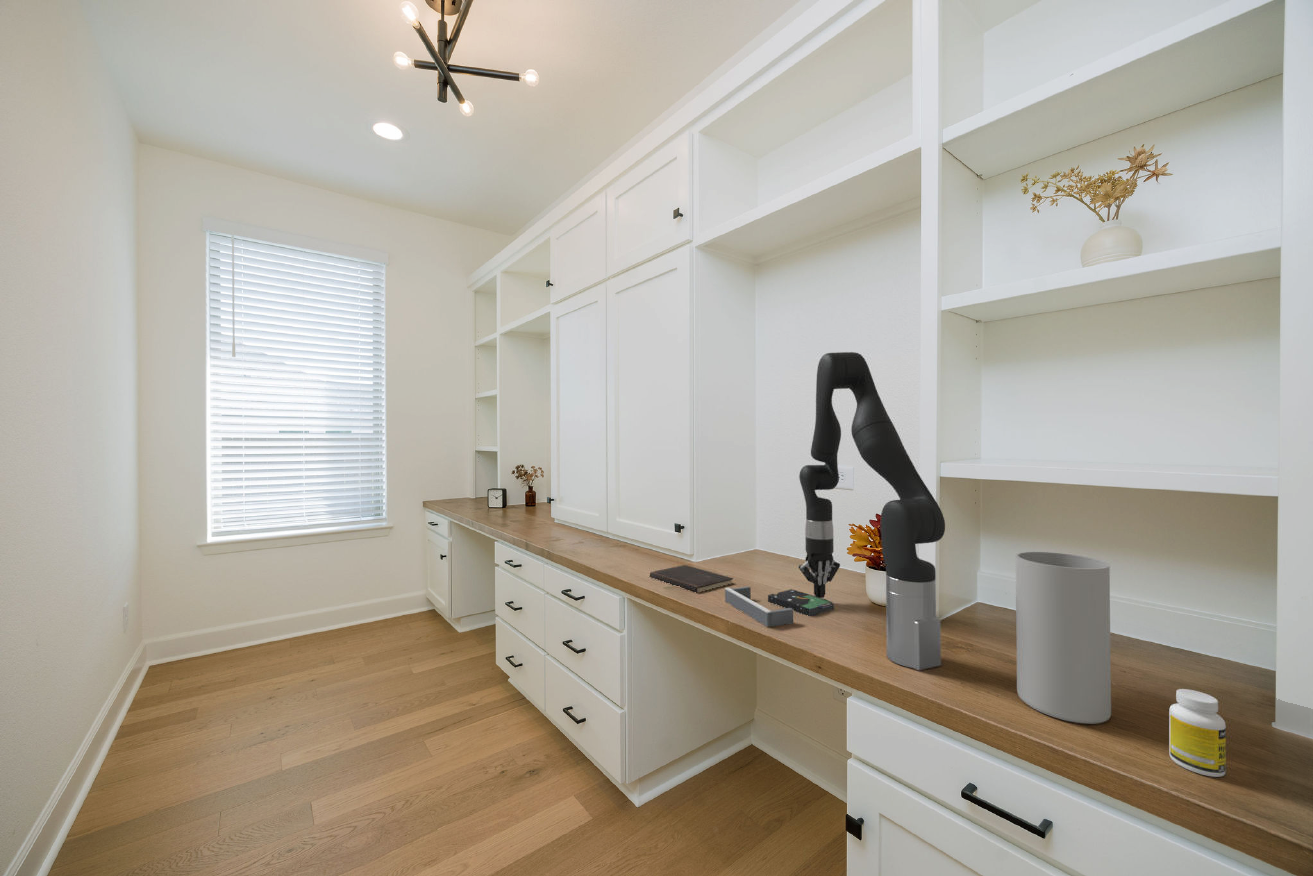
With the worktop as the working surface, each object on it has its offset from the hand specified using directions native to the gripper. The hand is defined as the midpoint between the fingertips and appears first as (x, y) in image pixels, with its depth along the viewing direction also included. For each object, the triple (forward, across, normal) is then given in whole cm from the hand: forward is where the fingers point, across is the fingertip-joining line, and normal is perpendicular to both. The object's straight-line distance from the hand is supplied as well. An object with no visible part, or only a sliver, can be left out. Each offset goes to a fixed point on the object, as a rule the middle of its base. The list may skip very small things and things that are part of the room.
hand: (819, 597), depth 141 cm
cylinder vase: (+2, +3, -60) cm, 60 cm away
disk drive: (+2, -7, 0) cm, 7 cm away
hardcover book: (+2, -25, +34) cm, 42 cm away
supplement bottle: (+2, +3, -77) cm, 77 cm away
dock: (+2, -21, 0) cm, 21 cm away
